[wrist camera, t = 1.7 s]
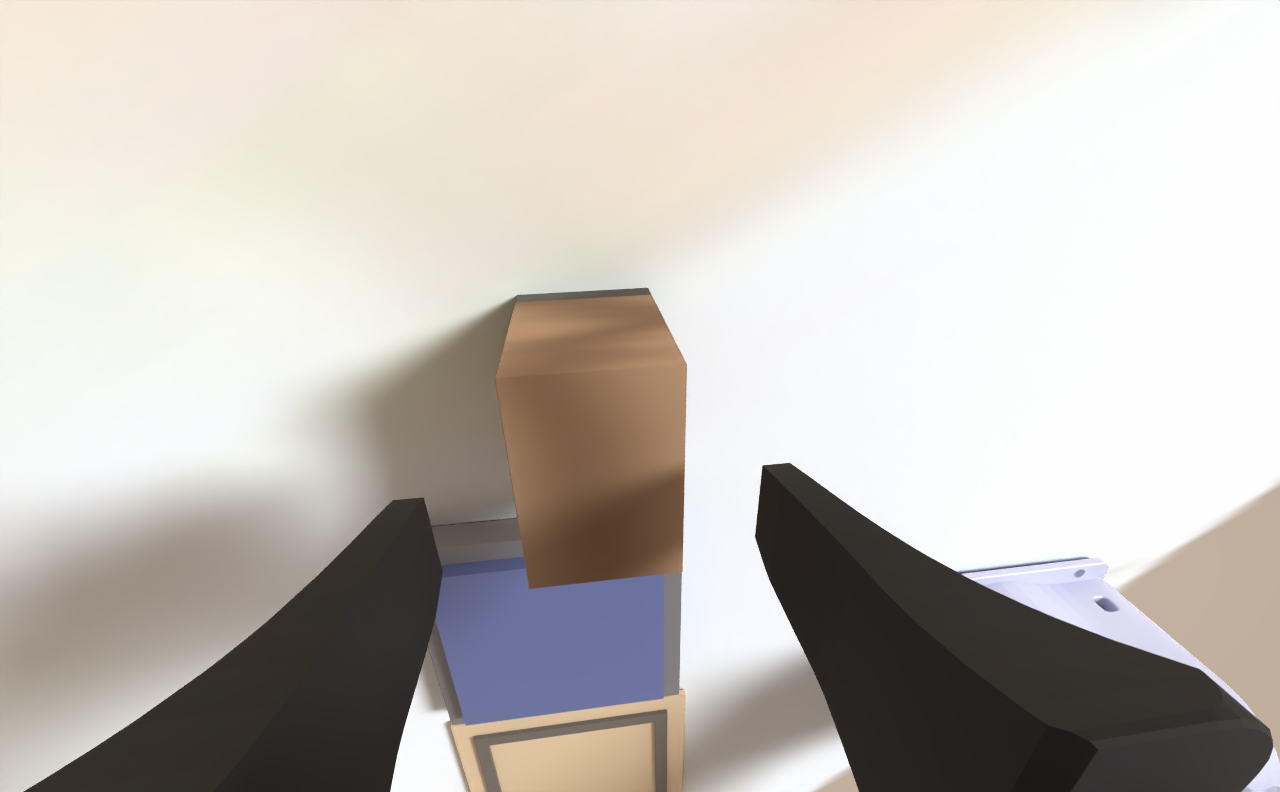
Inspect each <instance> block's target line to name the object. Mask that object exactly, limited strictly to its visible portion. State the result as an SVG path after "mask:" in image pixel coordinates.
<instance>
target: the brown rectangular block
mask: <svg viewBox="0 0 1280 792" xmlns="http://www.w3.org/2000/svg"><path fill="white" fill-rule="evenodd" d="M686 380H687V364H686V362H685V360H684V358H683V356H682V354H681V352H680V350H679V348H678V346H677V344H676V342H675V340H674V338H673V336H672V334H671V332H670V330H669V328H668V327H667V325H666V323H665V321H664V319H663V317H662V315H661V313H660V311H659V309H658V307H657V305H656V303H655V301H654V299H653V297H652V295H651V293H650V291H649V289H648V288H636V289H618V290H601V291H583V292H565V293H547V294H529V295H517V299H516V302H515V306H514V310H513V313H512V317H511V321H510V325H509V328H508V332H507V336H506V339H505V343H504V347H503V350H502V354H501V358H500V362H499V365H498V369H497V373H496V376H495V381H496V387H497V393H498V399H499V406H500V412H501V418H502V424H503V430H504V437H505V443H506V449H507V455H508V461H509V467H510V474H511V480H512V486H513V492H514V498H515V505H516V511H517V517H518V523H519V529H520V535H521V542H522V548H523V554H524V560H525V566H526V572H527V579H528V585H529V589H535V588H544V587H553V586H561V585H570V584H579V583H588V582H597V581H606V580H615V579H624V578H633V577H641V576H650V575H659V574H668V573H677V572H682V564H683V518H684V472H685V426H686Z"/></svg>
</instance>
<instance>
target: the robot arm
mask: <svg viewBox="0 0 1280 792" xmlns="http://www.w3.org/2000/svg"><path fill="white" fill-rule="evenodd" d="M755 538H756V541H757V544H758V548H759V551H760V554H761V557H762V560H763V563H764V566H765V569H766V572H767V574H768V577H769V580H770V582H771V584H772V586H773V588H774V590H775V593H776V595H777V597H778V599H779V601H780V603H781V605H782V607H783V609H784V611H785V613H786V615H787V618H788V620H789V622H790V624H791V626H792V628H793V630H794V632H795V634H796V636H797V638H798V640H799V642H800V644H801V646H802V648H803V650H804V652H805V654H806V657H807V659H808V661H809V663H810V665H811V667H812V669H813V671H814V673H815V675H816V678H817V680H818V682H819V684H820V687H821V689H822V691H823V694H824V696H825V699H826V701H827V704H828V707H829V709H830V712H831V715H832V717H833V720H834V723H835V725H836V728H837V731H838V733H839V736H840V739H841V741H842V744H843V747H844V750H845V753H846V756H847V758H848V761H849V764H850V767H851V770H852V773H853V775H854V778H855V781H856V784H857V787H858V790H859V792H1280V762H1279V759H1278V755H1277V753H1276V750H1275V748H1274V746H1273V740H1272V736H1271V732H1270V729H1269V728H1268V727H1267V726H1266V725H1264V724H1263V723H1262V722H1261V721H1260V720H1259V719H1257V718H1256V716H1255V715H1254V713H1253V712H1252V711H1251V710H1250V708H1249V707H1248V706H1247V705H1246V703H1244V701H1243V700H1242V699H1241V698H1240V697H1239V696H1238V695H1237V694H1236V693H1235V692H1234V691H1233V690H1232V689H1231V688H1230V687H1229V686H1228V685H1227V684H1226V683H1224V682H1223V681H1222V680H1221V679H1220V678H1219V677H1218V676H1216V675H1215V674H1214V673H1213V672H1212V671H1210V670H1209V669H1208V668H1207V667H1206V666H1205V665H1203V664H1202V663H1201V662H1200V661H1199V660H1197V659H1196V658H1195V657H1194V656H1192V654H1190V653H1189V652H1188V651H1187V650H1186V649H1184V648H1183V647H1182V646H1181V645H1180V644H1178V643H1177V642H1176V641H1175V640H1174V639H1173V638H1171V637H1170V636H1169V635H1168V634H1167V633H1165V632H1164V631H1163V630H1162V629H1161V628H1160V627H1159V626H1157V625H1156V624H1155V623H1154V622H1153V621H1151V620H1150V619H1149V618H1148V617H1147V616H1146V615H1144V614H1143V613H1142V612H1141V611H1139V610H1138V609H1137V608H1136V607H1135V606H1134V605H1132V604H1131V603H1130V602H1129V601H1128V600H1127V599H1125V598H1124V597H1123V596H1122V595H1121V594H1120V593H1118V592H1117V591H1116V590H1115V589H1114V588H1113V587H1111V586H1110V585H1109V584H1108V583H1107V582H1105V581H1104V580H1103V578H1104V576H1105V574H1106V572H1107V570H1108V564H1107V563H1106V562H1104V561H1103V560H1102V559H1100V558H1090V559H1082V560H1073V561H1065V562H1056V563H1048V564H1040V565H1031V566H1023V567H1014V568H1006V569H998V570H989V571H981V572H972V573H964V574H960V573H958V572H956V571H954V570H952V569H950V568H949V567H947V566H945V565H943V564H941V563H939V562H937V561H936V560H934V559H932V558H930V557H928V556H927V555H925V554H923V553H921V552H920V551H918V550H916V549H915V548H913V547H911V546H910V545H908V544H906V543H905V542H903V541H902V540H900V539H898V538H897V537H895V536H894V535H892V534H890V533H889V532H887V531H886V530H884V529H883V528H881V527H880V526H878V525H877V524H875V523H874V522H872V521H871V520H869V519H868V518H866V517H865V516H863V515H862V514H860V513H859V512H857V511H856V510H855V509H853V508H852V507H850V506H849V505H847V504H846V503H845V502H843V501H842V500H840V499H839V498H838V497H836V496H835V495H834V494H832V493H831V492H829V491H828V490H827V489H825V488H824V487H823V486H821V485H820V484H818V483H817V482H816V481H814V480H813V479H812V478H810V477H809V476H808V475H806V474H805V473H803V472H802V471H801V470H799V469H798V468H796V467H795V466H793V465H792V464H790V463H784V464H773V465H763V467H762V476H761V486H760V495H759V505H758V514H757V524H756V533H755ZM442 573H443V570H442V566H441V562H440V559H439V555H438V551H437V547H436V543H435V540H434V536H433V532H432V528H431V524H430V520H429V517H428V513H427V509H426V505H425V501H424V498H414V499H403V500H393V501H392V502H391V503H390V504H389V505H388V506H387V507H386V508H385V509H384V510H383V511H382V512H381V513H380V514H379V515H378V516H377V517H376V518H375V519H374V520H373V521H372V522H371V523H370V524H369V525H368V526H367V527H366V528H365V529H364V530H363V531H362V532H361V533H360V534H359V535H358V536H357V537H356V538H355V539H354V540H353V541H352V542H351V543H350V544H349V545H348V546H347V547H346V548H345V549H344V550H343V551H342V552H341V553H340V554H339V555H338V556H337V557H336V558H335V559H334V560H333V561H332V562H331V563H330V564H329V565H328V566H327V567H326V568H325V569H324V570H323V571H322V572H321V573H320V574H319V575H318V576H317V577H316V578H315V579H314V580H312V581H311V582H310V583H309V584H308V585H307V586H306V587H305V588H304V589H303V590H301V591H300V592H299V593H298V594H297V595H296V596H295V597H294V598H293V599H292V600H291V601H289V602H288V603H287V604H286V605H285V606H284V607H283V608H282V609H281V610H280V611H279V612H277V613H276V614H275V615H274V616H273V617H272V618H271V619H269V620H268V621H267V622H266V623H265V624H264V625H262V626H261V627H260V628H259V629H258V630H256V631H255V632H254V633H253V634H252V635H250V636H249V637H248V638H247V639H246V640H244V641H243V642H242V643H240V644H239V645H238V646H237V647H235V648H234V649H233V650H232V651H230V652H229V653H228V654H227V655H225V656H224V657H223V658H222V659H220V660H219V661H218V662H216V663H215V664H214V665H213V666H211V667H210V668H209V669H207V670H206V671H205V672H203V673H202V674H201V675H199V676H198V677H196V678H195V679H193V680H192V681H191V682H189V683H188V684H186V685H185V686H184V687H182V688H181V689H179V690H178V691H177V692H175V693H174V694H172V695H171V696H170V697H168V698H167V699H165V700H164V701H163V702H161V703H160V704H158V705H157V706H156V707H154V708H153V709H151V710H150V711H149V712H147V713H146V714H144V715H143V716H142V717H140V718H139V719H137V720H136V721H134V722H133V723H131V724H130V725H128V726H127V727H125V728H124V729H122V730H121V731H119V732H118V733H116V734H115V735H113V736H112V737H110V738H109V739H107V740H105V741H104V742H102V743H101V744H99V745H98V746H96V747H95V748H93V749H92V750H90V751H89V752H87V753H85V754H84V755H82V756H81V757H79V758H77V759H76V760H74V761H73V762H71V763H69V764H68V765H66V766H65V767H63V768H61V769H60V770H58V771H57V772H55V773H53V774H52V775H50V776H49V777H47V778H45V779H44V780H42V781H40V782H39V783H37V784H36V785H34V786H32V787H31V788H29V789H27V790H26V791H24V792H390V789H391V784H392V779H393V774H394V768H395V763H396V758H397V754H398V749H399V745H400V741H401V737H402V733H403V729H404V726H405V723H406V719H407V716H408V712H409V709H410V705H411V702H412V698H413V695H414V692H415V688H416V685H417V681H418V678H419V674H420V671H421V668H422V664H423V661H424V657H425V654H426V650H427V647H428V643H429V640H430V636H431V633H432V629H433V625H434V622H435V618H436V612H437V606H438V600H439V594H440V587H441V580H442Z"/></svg>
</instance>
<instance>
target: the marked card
mask: <svg viewBox="0 0 1280 792" xmlns="http://www.w3.org/2000/svg"><path fill="white" fill-rule="evenodd" d="M684 718H685V692H684V689H682V690H679V695H673V696H665V697H664V699H658V700H650V701H643V702H636V703H628V704H621V705H614V706H606V707H599V708H592V709H584V710H577V711H570V712H562V713H555V714H548V715H541V716H533V717H526V718H519V719H511V720H504V721H497V722H489V723H482V724H475V725H467V726H466V725H465V724H460V725H452V723H451V730H452V733H453V736H454V740H455V743H456V746H457V749H458V753H459V756H460V759H461V762H462V766H463V769H464V772H465V775H466V779H467V782H468V785H469V788H470V792H682V785H683V752H684Z"/></svg>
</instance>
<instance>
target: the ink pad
mask: <svg viewBox="0 0 1280 792" xmlns="http://www.w3.org/2000/svg"><path fill="white" fill-rule="evenodd" d="M431 528H432V532H433V536H434V540H435V543H436V547H437V551H438V555H439V559H440V562H441V566H442V570H443V573H442V580H441V587H440V594H439V600H438V606H437V612H436V618H435V622H434V625H433V629H432V633H431V636H430V640H429V643H428V648H429V651H430V654H431V658H432V661H433V664H434V667H435V671H436V674H437V677H438V681H439V684H440V687H441V690H442V694H443V697H444V700H445V703H446V707H447V710H448V713H449V717H450V720H451V723H452V725H460V724H465V725H466V726H467V725H475V724H482V723H489V722H497V721H504V720H511V719H519V718H526V717H533V716H541V715H548V714H555V713H562V712H570V711H577V710H584V709H592V708H599V707H606V706H614V705H621V704H628V703H636V702H643V701H650V700H658V699H664V697H665V696H673V695H679V671H680V625H681V578H682V572H677V573H668V574H659V575H650V576H641V577H633V578H624V579H615V580H606V581H597V582H588V583H579V584H570V585H561V586H553V587H544V588H535V589H529V585H528V579H527V572H526V566H525V560H524V554H523V548H522V542H521V535H520V529H519V523H518V518H515V519H505V520H494V521H484V522H474V523H464V524H454V525H444V526H433V527H431Z"/></svg>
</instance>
